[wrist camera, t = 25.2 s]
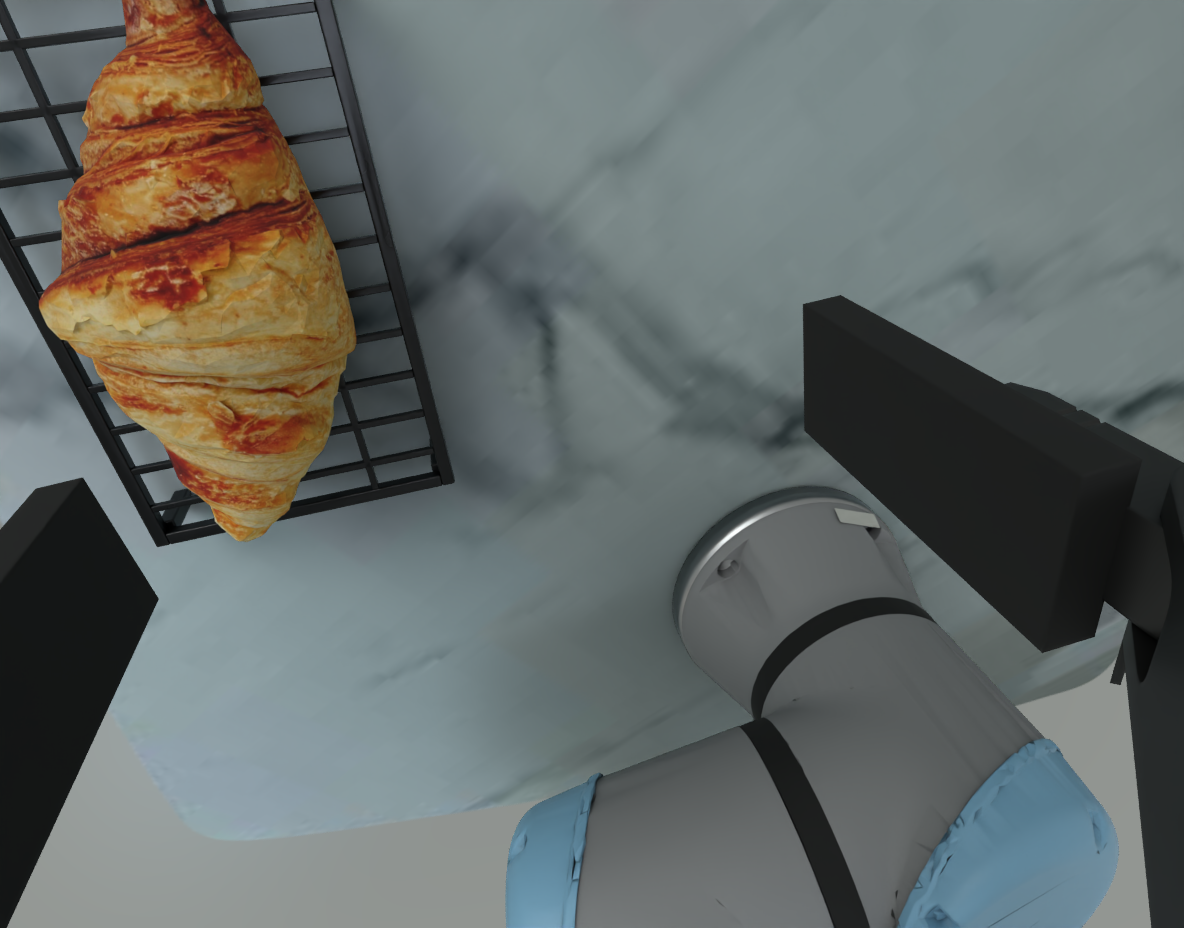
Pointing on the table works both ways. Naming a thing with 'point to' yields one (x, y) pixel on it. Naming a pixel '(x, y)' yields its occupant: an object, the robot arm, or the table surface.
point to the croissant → (202, 267)
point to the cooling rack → (170, 523)
